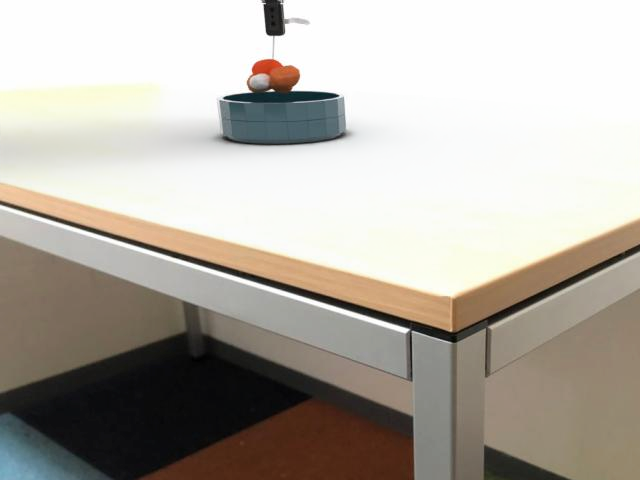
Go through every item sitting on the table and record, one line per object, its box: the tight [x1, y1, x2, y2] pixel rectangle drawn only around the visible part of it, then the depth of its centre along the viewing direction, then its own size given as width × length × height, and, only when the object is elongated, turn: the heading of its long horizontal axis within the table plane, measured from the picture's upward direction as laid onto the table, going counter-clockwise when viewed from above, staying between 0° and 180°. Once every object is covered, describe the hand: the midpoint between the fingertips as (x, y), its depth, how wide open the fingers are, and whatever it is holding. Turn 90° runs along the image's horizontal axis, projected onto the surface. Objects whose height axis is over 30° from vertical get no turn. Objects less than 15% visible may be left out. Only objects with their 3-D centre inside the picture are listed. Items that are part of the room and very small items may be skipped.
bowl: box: [216, 90, 347, 145], centre depth 99 cm, size 16×16×5 cm
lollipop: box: [246, 17, 311, 94], centre depth 96 cm, size 6×10×12 cm, turn 71°
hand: (275, 35), depth 95 cm, fingers closed on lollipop, 1 cm apart
